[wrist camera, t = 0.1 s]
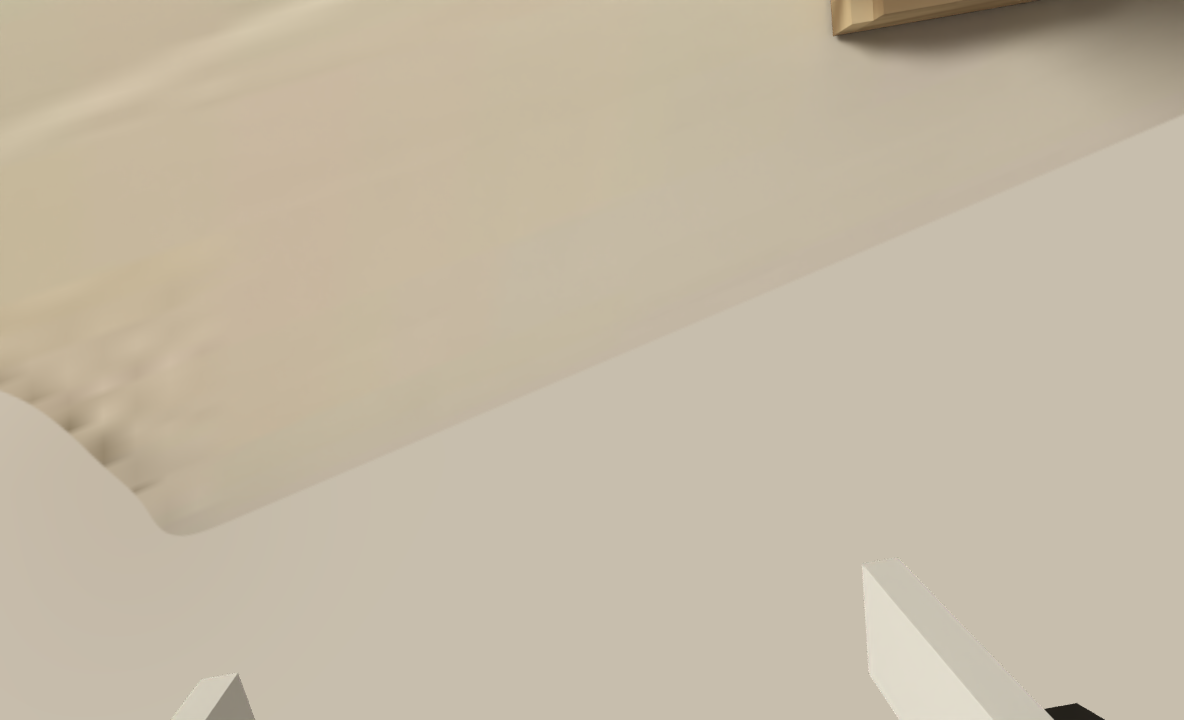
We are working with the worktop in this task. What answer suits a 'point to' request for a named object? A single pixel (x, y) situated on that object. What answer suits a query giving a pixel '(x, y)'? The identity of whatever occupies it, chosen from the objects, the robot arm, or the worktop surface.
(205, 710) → the robot arm
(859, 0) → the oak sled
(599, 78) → the worktop surface
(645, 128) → the worktop surface
